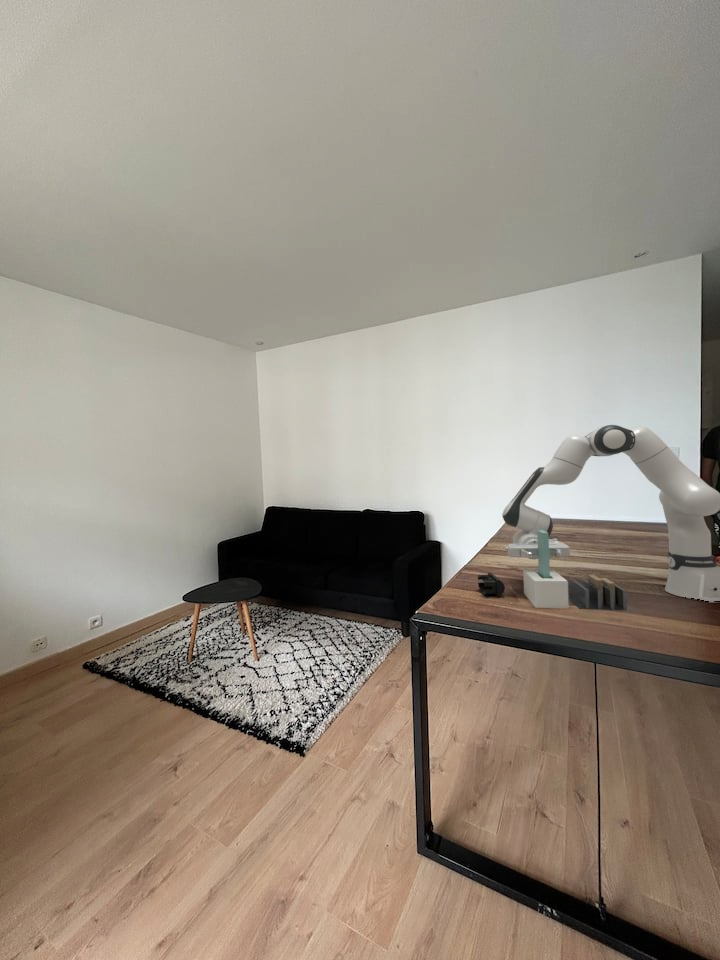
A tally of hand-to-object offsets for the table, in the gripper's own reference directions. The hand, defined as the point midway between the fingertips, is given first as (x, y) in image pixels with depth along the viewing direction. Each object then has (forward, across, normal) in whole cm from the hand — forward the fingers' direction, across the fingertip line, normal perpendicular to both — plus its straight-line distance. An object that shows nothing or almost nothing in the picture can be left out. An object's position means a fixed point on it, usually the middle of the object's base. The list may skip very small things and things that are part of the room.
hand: (544, 555), depth 124 cm
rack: (-1, +16, +17) cm, 23 cm away
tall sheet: (-1, 0, +16) cm, 16 cm away
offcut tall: (-1, +16, +16) cm, 23 cm away
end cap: (-11, -16, +17) cm, 26 cm away
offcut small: (-1, +20, +16) cm, 25 cm away
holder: (-1, 0, +17) cm, 17 cm away
